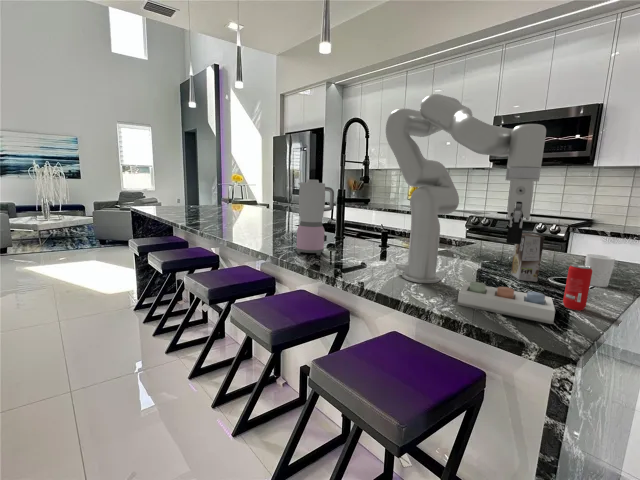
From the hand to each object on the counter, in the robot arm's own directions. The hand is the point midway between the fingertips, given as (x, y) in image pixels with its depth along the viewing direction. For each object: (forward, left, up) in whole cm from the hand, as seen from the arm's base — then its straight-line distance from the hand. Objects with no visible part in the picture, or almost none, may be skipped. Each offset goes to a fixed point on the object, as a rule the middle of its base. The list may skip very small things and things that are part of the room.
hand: (513, 240), depth 91 cm
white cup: (+27, +47, -19) cm, 57 cm away
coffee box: (+5, +40, -19) cm, 44 cm away
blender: (-76, +25, -19) cm, 82 cm away
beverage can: (+17, +12, -19) cm, 28 cm away
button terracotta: (0, 0, -16) cm, 16 cm away
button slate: (+7, 0, -16) cm, 17 cm away
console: (0, 0, -18) cm, 18 cm away
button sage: (-7, 0, -16) cm, 17 cm away
